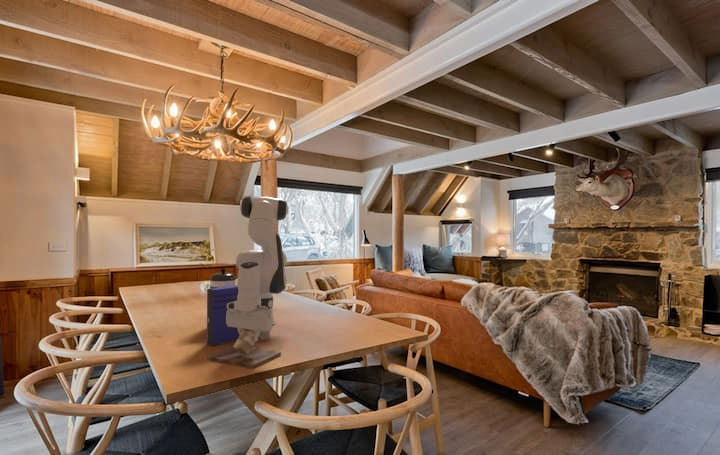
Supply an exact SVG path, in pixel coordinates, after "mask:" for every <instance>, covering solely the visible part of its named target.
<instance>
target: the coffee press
mask: <svg viewBox="0 0 720 455" xmlns="http://www.w3.org/2000/svg"><path fill="white" fill-rule="evenodd" d="M236 280H237V277H236V275H235V273H232V272H226V268H224V267H223V268H221V269H220V272H217V273H213V274H212V275H211V276H210V278H209V281H210V286H209V289H210V288H219V287H227V286H235V285H236Z"/></svg>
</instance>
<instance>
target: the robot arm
mask: <svg viewBox="0 0 720 455" xmlns="http://www.w3.org/2000/svg"><path fill="white" fill-rule="evenodd" d="M287 203H288V202H287V201H286V200H285V199H283V198H275V197H270V196H252V195H249V196H245V197H243V198H242V200H241V201H240V205H239V210H240V213H241V216H242V217H244V218H247V219H248V222H247V223H248V225H247V233H248V237H249V238H250V239H251V241H253V242H254V243H255V244H256V245H258V246H259V247H262V248H263V249H248V250H243V251H240V252H239V253H238V254H237V255H236V258H235V264H236V266H237V268H238V271H237V273H238V274H237V279H236V280H237V282H236V285H237V287H238V296H237V300H236V301H234V302H230V303H228V304H227V309H228V310H227V312H226V324H227V326H228V327H235V328H238V332H239V335H240V334H241V332H242V331H243V329H249V330H254V333H255V335H254V337H252V341H253V342H255V343H256V342H258V341H259V337H260V332H261V331H263V332H267V331H271V330H272V329H273V326H274V325H275V324H276V321H275V314H274V308H273V307H274V296H273V294H275V295H276V294H278V295H279V294H281V293H282V292H283V291H285V289H286V288H287V283H288V282H287V281H288V278H287V276H286V271H285V266H286V265H287V261H288V257H287V255H286V253H285V252H284V251H283V245H282V240H281V237H280V235H279V234H278V233H276V221H283V220H284V219H286V217H287V215H288V213H289V206H288V204H287Z"/></svg>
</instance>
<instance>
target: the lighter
mask: <svg viewBox="0 0 720 455" xmlns="http://www.w3.org/2000/svg"><path fill="white" fill-rule="evenodd" d="M270 331H271V330H270ZM270 331H267V332H263V331H261V332H260V334H259V340H260V341H264V340H270V336H271V335H270V334H271V333H270Z"/></svg>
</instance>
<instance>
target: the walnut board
mask: <svg viewBox="0 0 720 455" xmlns="http://www.w3.org/2000/svg"><path fill="white" fill-rule="evenodd" d="M281 355H282V353H281V351H277V350H271V349H265V348H258V347H252V349H251V350H250V352H249V354H242V353H239V352H238V351H237V350H236V349H235V348H234V347H233V346H231V347H228V348H225V349H223V350H220V351H218V352H215V353H212V354H210V355H208V356H206V357H207V361H208V360H209V361H214V362H218V363H224V364H227V365H233V366H239V367H244V368H249V369H255V368H257V367H259V366H261V365H264V364H266V363H267V362H270V361H272V360H274V359H277V358H278V357H279V356H281Z"/></svg>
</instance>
